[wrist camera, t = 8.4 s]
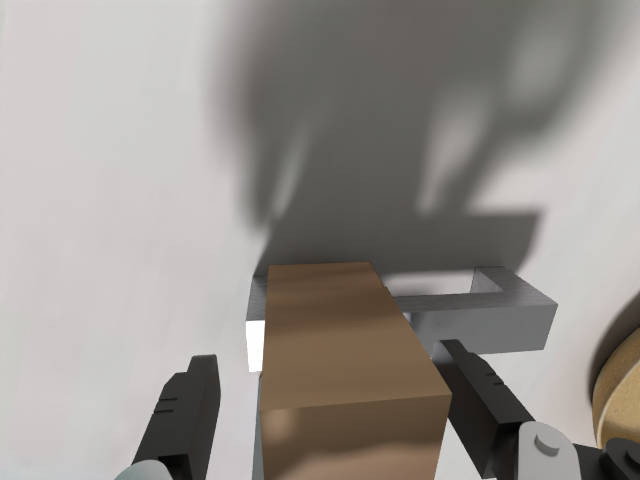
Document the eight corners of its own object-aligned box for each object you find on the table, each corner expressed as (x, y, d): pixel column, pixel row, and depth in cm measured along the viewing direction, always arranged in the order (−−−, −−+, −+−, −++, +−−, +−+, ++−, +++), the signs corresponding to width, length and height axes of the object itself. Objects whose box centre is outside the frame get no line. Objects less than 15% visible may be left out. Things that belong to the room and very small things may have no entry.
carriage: (268, 263, 14) (259, 411, 7) (369, 259, 14) (452, 394, 8) (272, 360, 16) (268, 551, 9) (361, 354, 16) (422, 530, 9)
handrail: (252, 276, 16) (245, 321, 12) (504, 266, 17) (558, 303, 14) (255, 319, 17) (249, 371, 13) (494, 305, 18) (543, 349, 15)
